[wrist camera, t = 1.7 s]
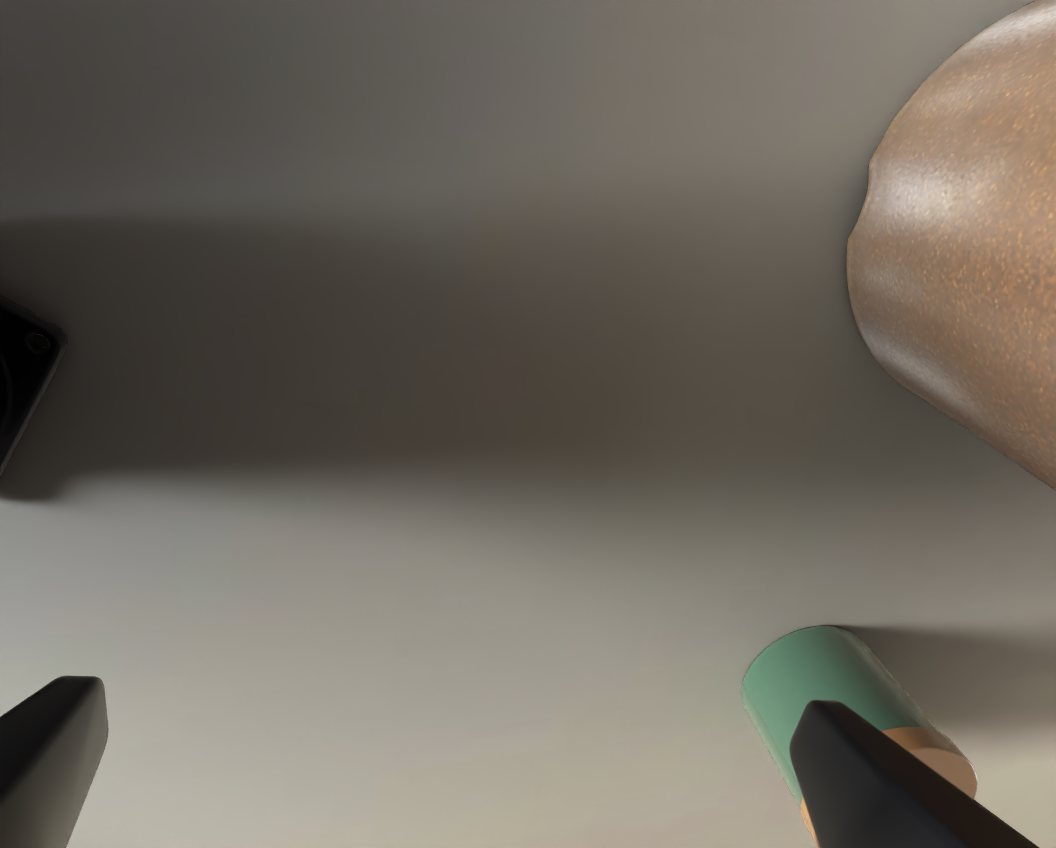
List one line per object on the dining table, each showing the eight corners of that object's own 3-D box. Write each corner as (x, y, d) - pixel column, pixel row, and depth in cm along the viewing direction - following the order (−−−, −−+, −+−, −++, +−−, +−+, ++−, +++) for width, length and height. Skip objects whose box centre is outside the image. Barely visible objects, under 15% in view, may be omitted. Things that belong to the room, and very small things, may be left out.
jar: (801, 745, 29) (885, 884, 24) (710, 699, 27) (779, 839, 22) (897, 657, 27) (1010, 783, 22) (808, 601, 25) (908, 724, 20)
